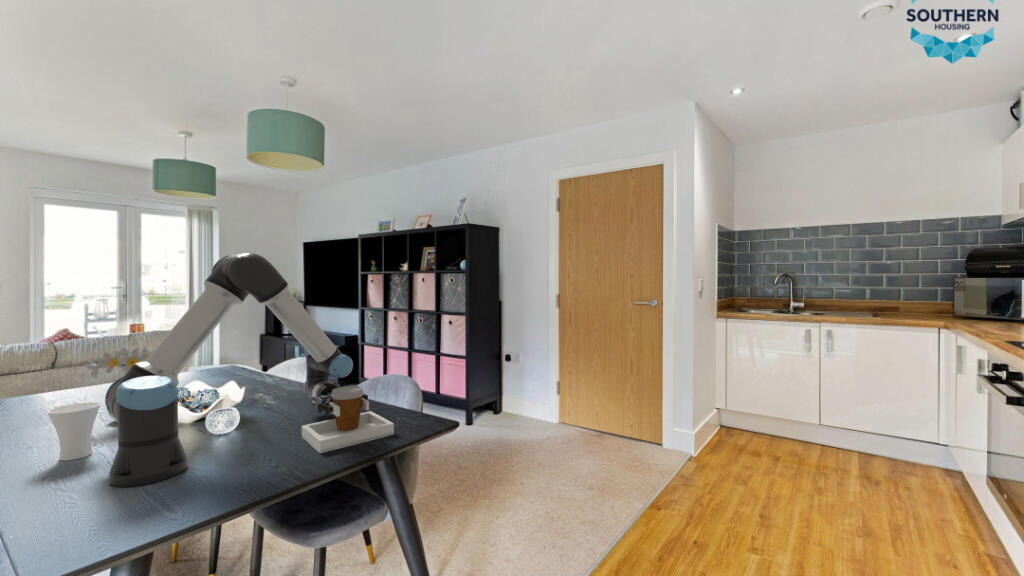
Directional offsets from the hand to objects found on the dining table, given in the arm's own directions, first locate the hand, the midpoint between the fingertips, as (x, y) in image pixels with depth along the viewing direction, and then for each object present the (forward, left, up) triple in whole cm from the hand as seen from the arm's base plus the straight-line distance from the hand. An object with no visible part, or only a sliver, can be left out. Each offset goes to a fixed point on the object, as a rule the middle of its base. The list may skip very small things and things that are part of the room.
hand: (353, 408), depth 133 cm
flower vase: (-52, +72, -10) cm, 89 cm away
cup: (-62, +40, -10) cm, 74 cm away
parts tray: (0, +5, -9) cm, 11 cm away
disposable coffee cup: (0, +5, -7) cm, 9 cm away
